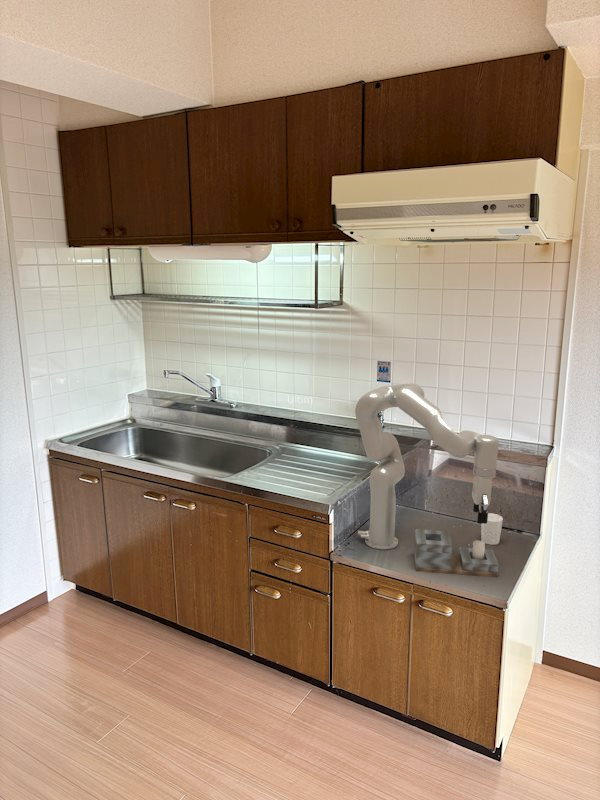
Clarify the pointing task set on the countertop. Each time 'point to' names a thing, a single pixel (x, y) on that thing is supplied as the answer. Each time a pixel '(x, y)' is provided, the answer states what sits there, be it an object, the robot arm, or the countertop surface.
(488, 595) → the countertop surface
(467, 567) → the socket board
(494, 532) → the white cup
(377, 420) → the robot arm
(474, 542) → the peg
